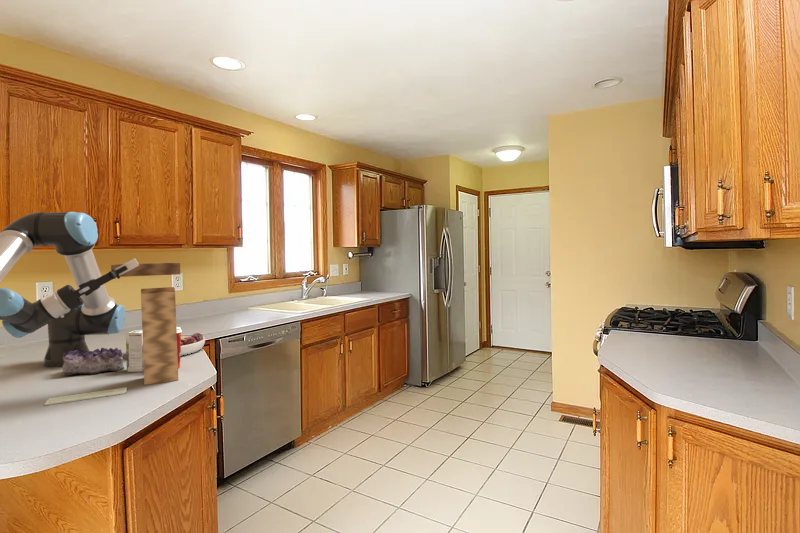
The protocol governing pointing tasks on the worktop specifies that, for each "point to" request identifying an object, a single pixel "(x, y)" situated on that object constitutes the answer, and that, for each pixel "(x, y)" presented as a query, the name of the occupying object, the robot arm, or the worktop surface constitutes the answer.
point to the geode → (92, 361)
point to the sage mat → (85, 396)
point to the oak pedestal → (159, 335)
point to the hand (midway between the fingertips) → (136, 261)
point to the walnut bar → (151, 269)
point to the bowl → (191, 343)
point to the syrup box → (134, 351)
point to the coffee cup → (178, 344)
